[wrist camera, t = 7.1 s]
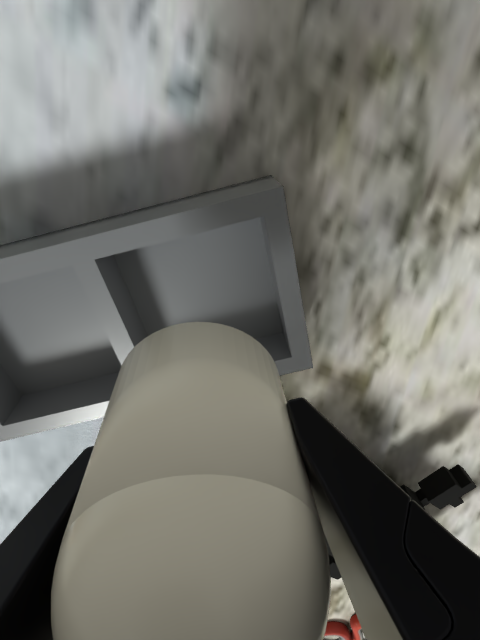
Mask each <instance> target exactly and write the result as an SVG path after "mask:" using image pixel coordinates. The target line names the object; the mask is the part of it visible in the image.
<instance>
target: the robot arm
mask: <svg viewBox="0 0 480 640" xmlns="http://www.w3.org/2000/svg"><path fill="white" fill-rule="evenodd" d="M287 408H288V411H289V415H290V418H291V422H292V425H293V429H294V432H295V436H296V440H297V443H298V446H299V450H300V453H301V456H302V459H303V462H304V465H305V468H306V472H307V475H308V478H309V482H310V485H311V489H312V492H313V496H314V499H315V503H316V506H317V510H318V513H319V517H320V520H321V524H322V527H323V531H324V534H325V536H326V539H327V541H328V544H329V547H330V549H331V552H332V554H333V557H334V559H335V562H336V564H337V567H338V569H339V572H340V574H341V577H342V580H343V582H344V585H345V587H346V590H347V592H348V595H349V597H350V600H351V602H352V605H353V608H354V610H355V613H356V615H357V618H358V620H359V623H360V625H361V628H362V630H363V633H364V635H365V638H366V640H480V557H479V556H478V555H477V554H475V553H474V552H473V551H472V550H470V549H469V548H468V547H467V546H465V545H464V544H463V543H462V542H460V541H459V540H458V539H457V538H455V537H454V536H453V535H452V534H451V533H450V532H449V531H448V530H446V529H445V528H444V527H443V526H442V525H441V524H440V523H438V522H437V521H436V520H435V519H434V518H433V517H432V516H431V515H429V514H428V513H427V512H426V511H425V510H424V509H423V508H422V507H421V506H420V505H419V504H418V503H417V502H416V501H414V500H412V501H411V497H410V496H409V495H408V494H407V493H406V492H405V491H403V490H402V489H401V488H400V487H399V486H398V485H397V484H396V483H395V482H394V481H393V480H392V479H391V478H389V477H388V476H387V475H386V474H385V473H384V472H383V471H382V470H381V469H380V468H379V467H378V466H377V465H376V464H374V463H373V462H372V461H371V460H370V459H369V458H368V457H367V456H366V455H365V454H364V453H363V452H362V451H360V450H359V449H358V448H357V447H356V446H355V445H354V444H353V443H352V442H351V441H350V440H349V439H348V438H346V437H345V436H344V435H343V434H342V433H341V432H340V431H339V430H338V429H337V428H336V427H335V426H334V425H333V424H331V423H330V422H329V421H328V420H327V419H326V418H325V417H324V416H323V415H322V414H321V413H320V412H319V411H317V410H316V409H315V408H314V407H313V406H312V405H311V404H310V403H309V402H308V401H307V400H306V399H304V398H297V399H292V400H289V401H287ZM93 448H94V446H91V447H88V448H86V449H85V450H84V451H83V452H82V453H81V454H80V455H79V457H78V458H77V459H76V460H75V461H74V462H73V463H72V464H71V466H70V467H69V468H68V469H67V470H66V471H65V472H64V473H63V475H62V476H61V477H60V478H59V479H58V480H57V481H56V482H55V484H54V485H53V486H52V487H51V488H50V489H49V490H48V491H47V493H46V494H45V495H44V496H43V497H42V498H41V499H40V500H39V502H38V503H37V504H36V505H35V506H34V507H33V508H32V509H31V511H30V512H29V513H28V514H27V515H26V516H25V517H24V518H23V520H22V521H21V522H20V523H19V524H18V525H17V526H16V527H15V529H14V530H13V531H12V532H11V533H10V534H9V535H8V536H7V538H6V539H5V540H4V541H3V542H2V543H1V544H0V640H53V635H52V628H51V590H52V582H53V575H54V569H55V565H56V561H57V557H58V554H59V550H60V546H61V543H62V539H63V536H64V533H65V530H66V527H67V524H68V521H69V519H70V516H71V513H72V510H73V507H74V504H75V501H76V498H77V495H78V492H79V489H80V486H81V483H82V480H83V477H84V474H85V471H86V468H87V465H88V462H89V460H90V457H91V454H92V451H93Z"/></svg>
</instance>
